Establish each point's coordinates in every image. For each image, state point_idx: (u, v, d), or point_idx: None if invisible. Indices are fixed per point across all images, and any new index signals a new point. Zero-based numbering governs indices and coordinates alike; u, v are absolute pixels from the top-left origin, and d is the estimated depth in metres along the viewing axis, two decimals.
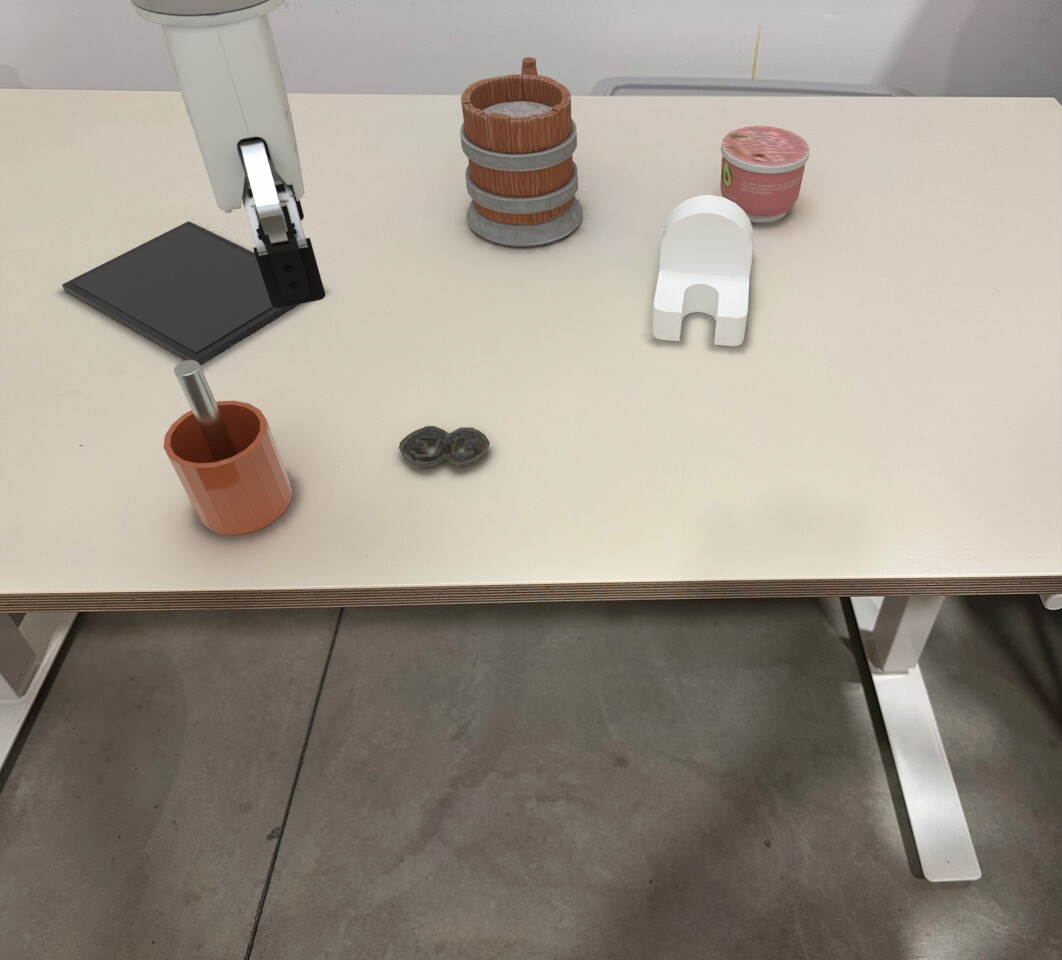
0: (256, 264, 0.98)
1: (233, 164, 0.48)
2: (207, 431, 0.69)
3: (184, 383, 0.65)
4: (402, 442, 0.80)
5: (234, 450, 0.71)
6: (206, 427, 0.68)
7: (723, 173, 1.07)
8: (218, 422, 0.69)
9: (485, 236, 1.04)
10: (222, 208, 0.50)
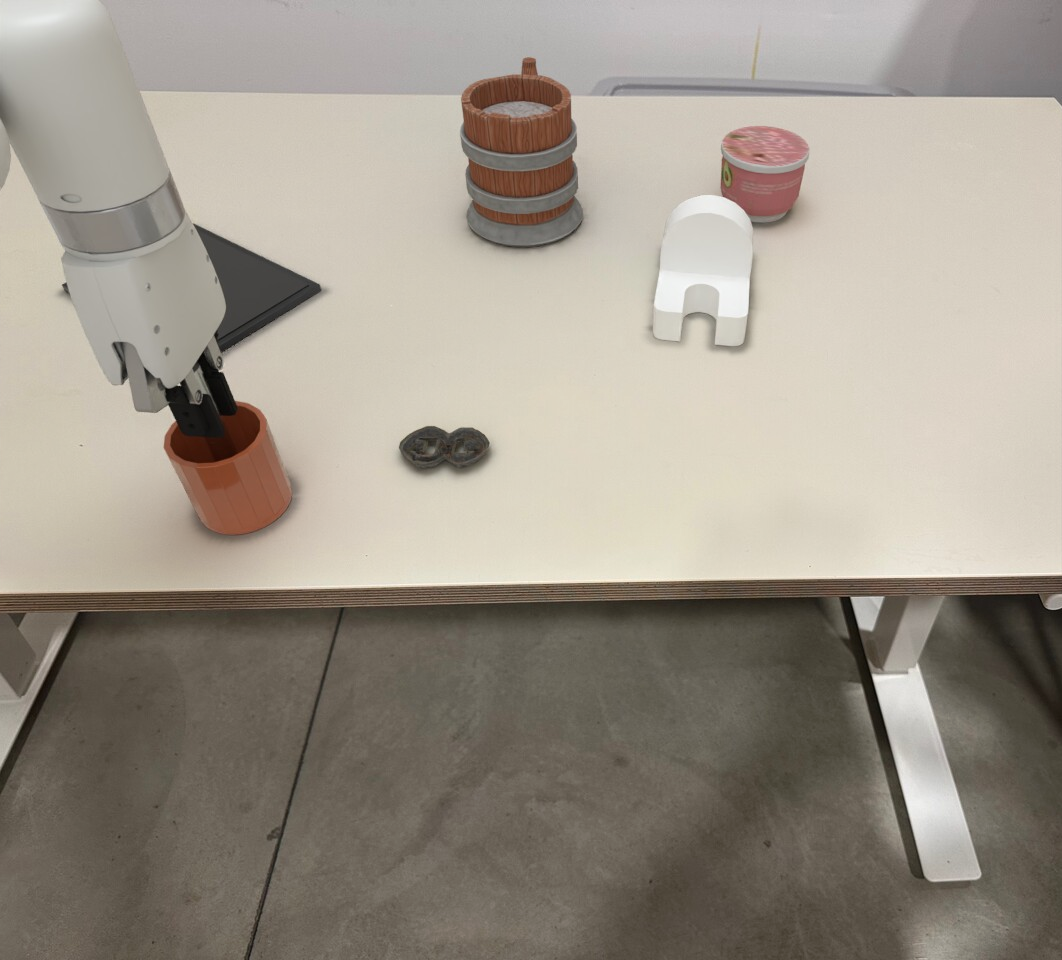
0: (256, 264, 0.98)
1: (110, 356, 0.58)
2: None
3: None
4: (402, 442, 0.80)
5: (234, 450, 0.71)
6: None
7: (723, 173, 1.07)
8: None
9: (485, 236, 1.04)
10: (109, 381, 0.60)
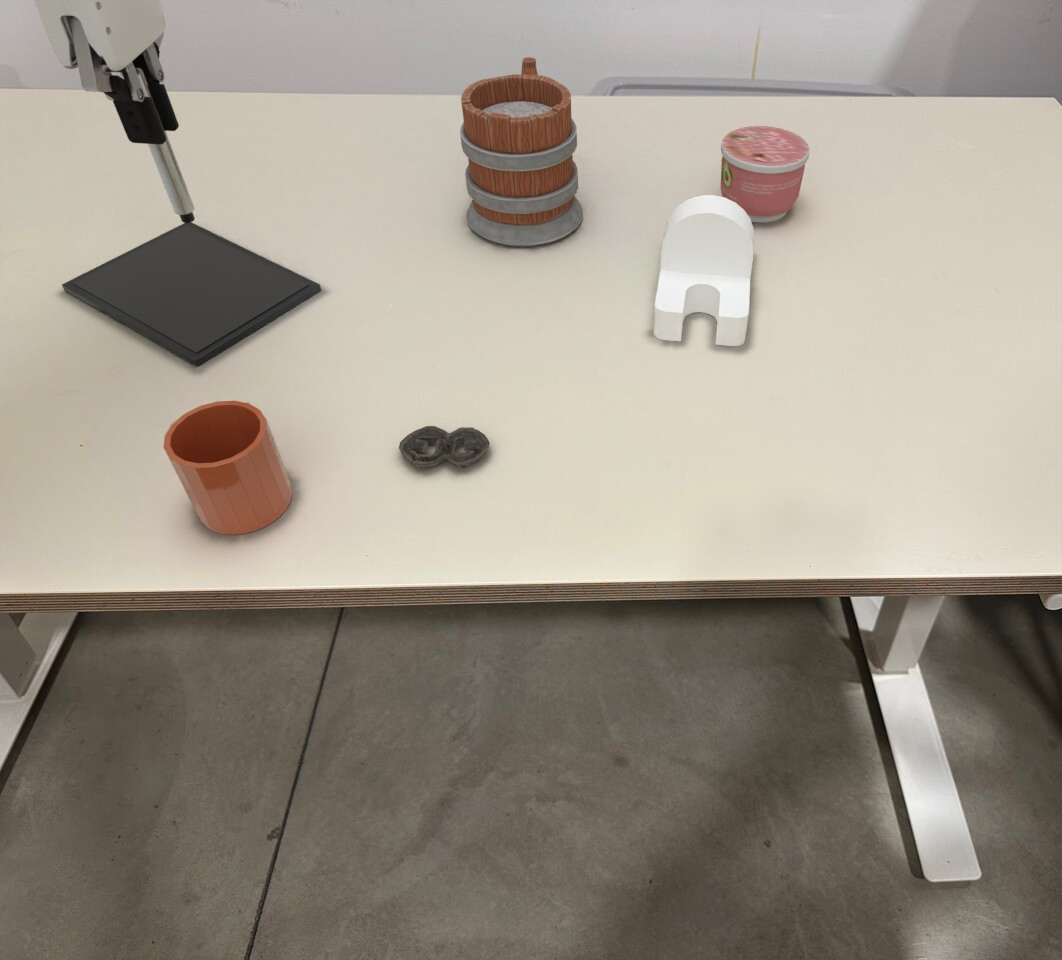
0: (256, 264, 0.98)
1: (59, 32, 0.68)
2: None
3: None
4: (402, 442, 0.80)
5: (177, 166, 0.82)
6: None
7: (723, 173, 1.07)
8: None
9: (485, 236, 1.04)
10: None
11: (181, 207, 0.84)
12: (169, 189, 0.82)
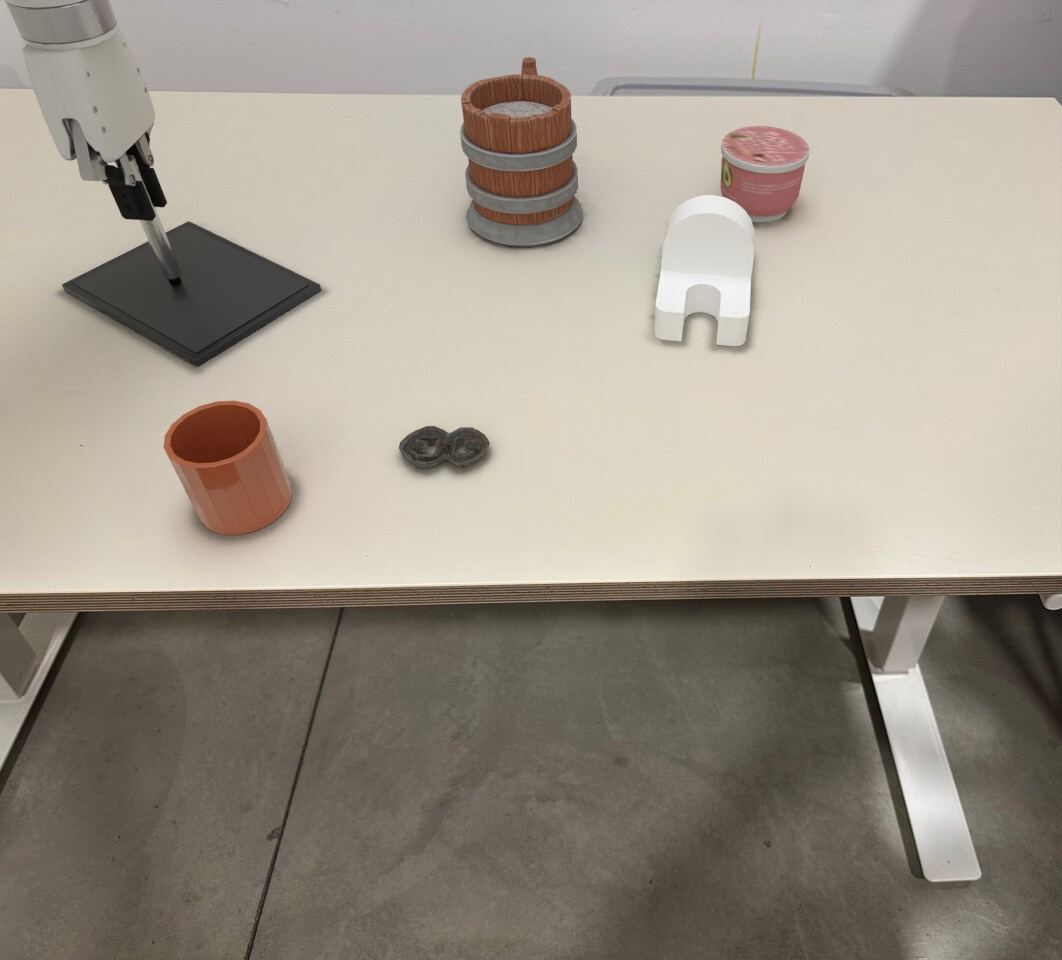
0: (256, 264, 0.98)
1: (61, 132, 0.78)
2: None
3: None
4: (402, 442, 0.80)
5: (165, 238, 0.91)
6: None
7: (723, 173, 1.07)
8: None
9: (485, 236, 1.04)
10: (62, 156, 0.80)
11: (169, 273, 0.93)
12: (159, 258, 0.92)
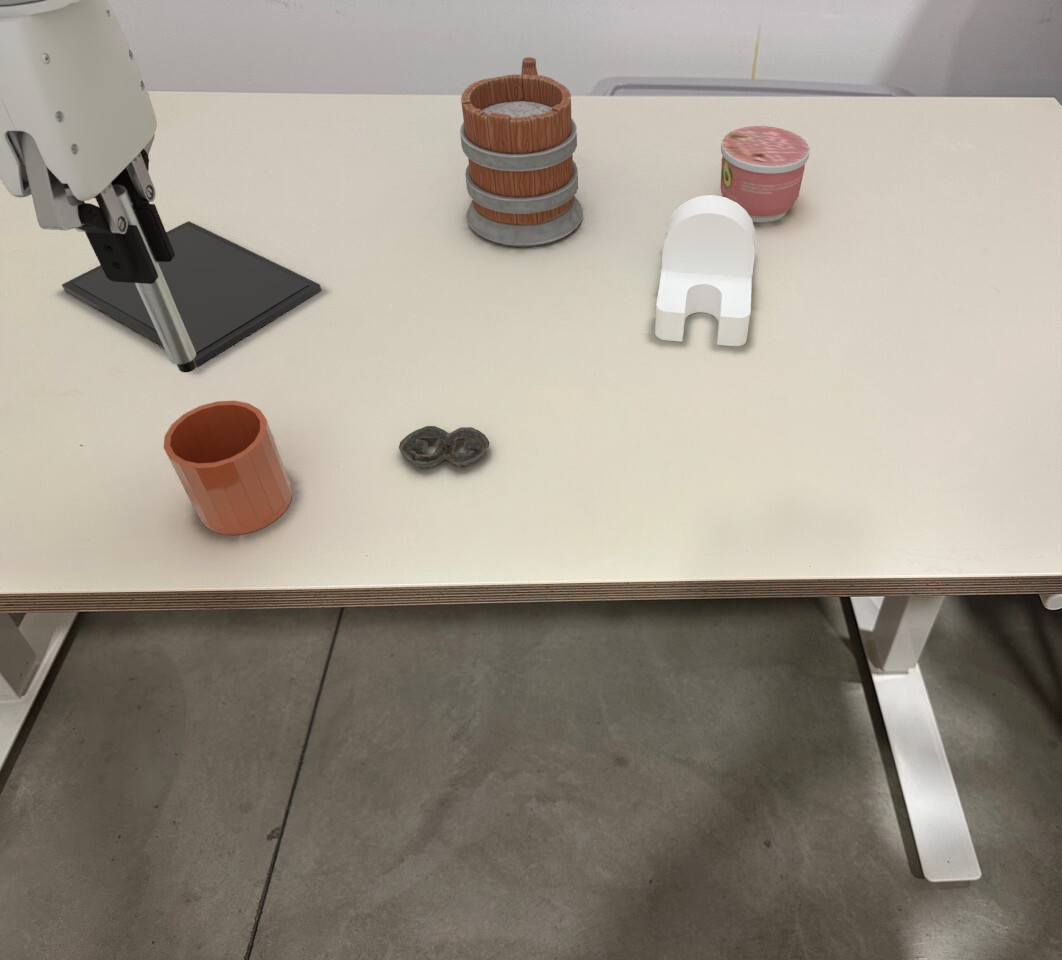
0: (256, 264, 0.98)
1: (5, 153, 0.48)
2: None
3: None
4: (402, 442, 0.80)
5: (173, 306, 0.61)
6: None
7: (723, 173, 1.07)
8: None
9: (485, 236, 1.04)
10: None
11: (178, 355, 0.63)
12: (163, 335, 0.62)
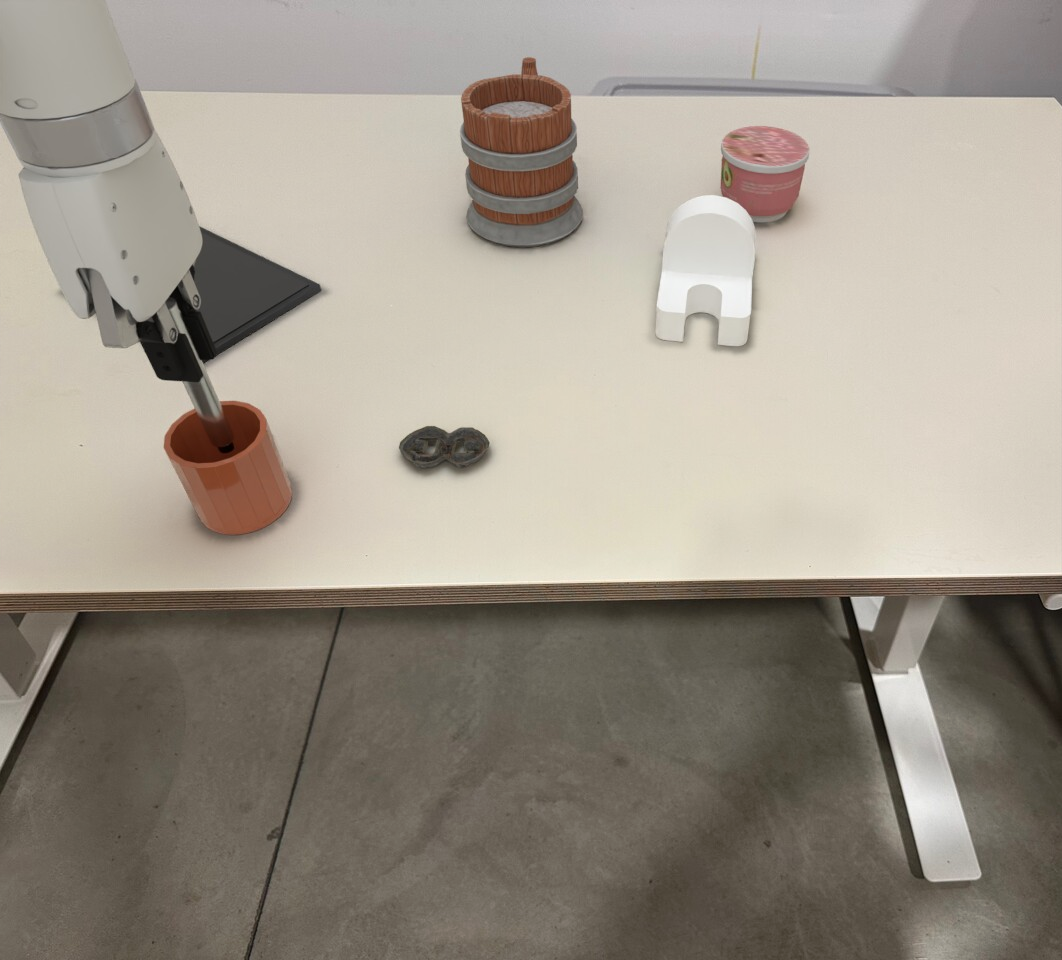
0: (256, 264, 0.98)
1: (75, 285, 0.54)
2: None
3: None
4: (402, 442, 0.80)
5: (215, 397, 0.68)
6: None
7: (723, 173, 1.07)
8: None
9: (485, 236, 1.04)
10: (76, 314, 0.56)
11: (219, 439, 0.70)
12: (206, 422, 0.68)
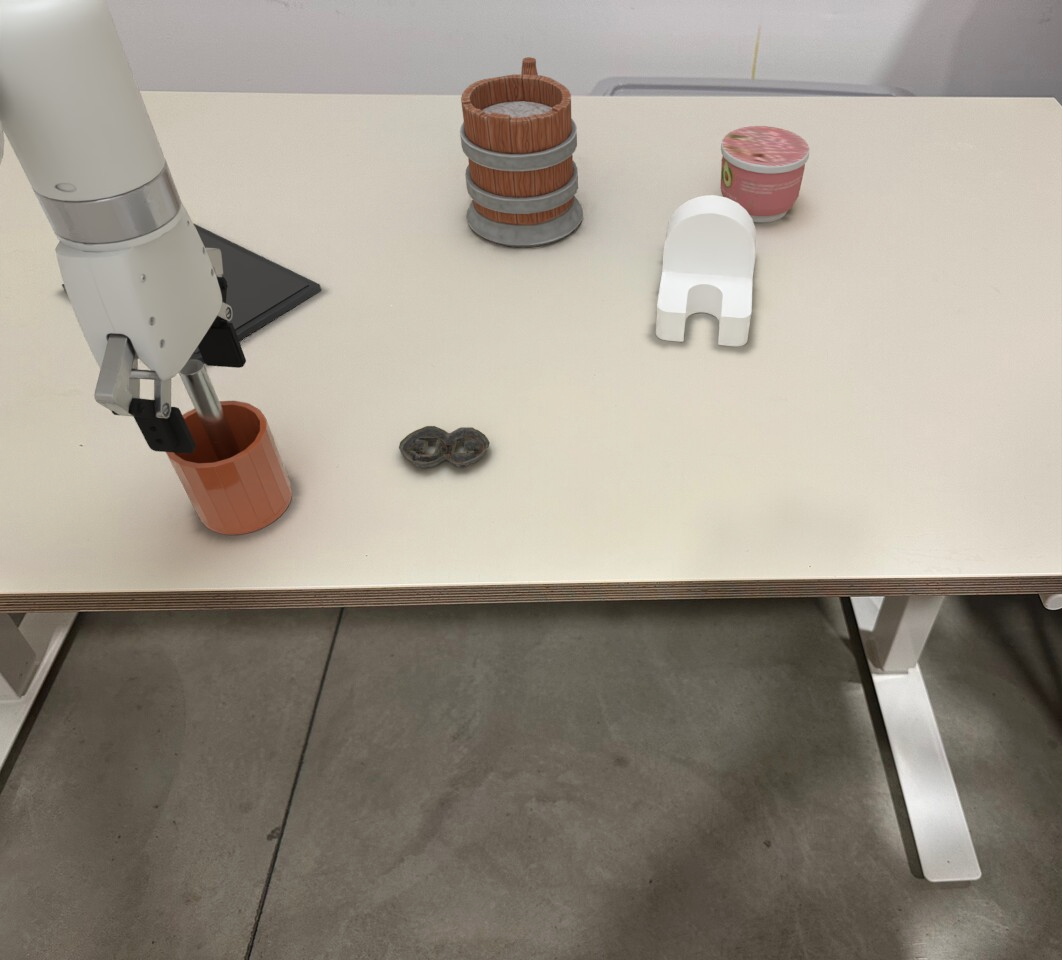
0: (256, 264, 0.98)
1: (105, 348, 0.58)
2: (211, 430, 0.69)
3: (188, 382, 0.65)
4: (402, 442, 0.80)
5: (237, 449, 0.72)
6: (210, 426, 0.68)
7: (723, 173, 1.07)
8: (222, 421, 0.69)
9: (485, 236, 1.04)
10: None
11: None
12: None
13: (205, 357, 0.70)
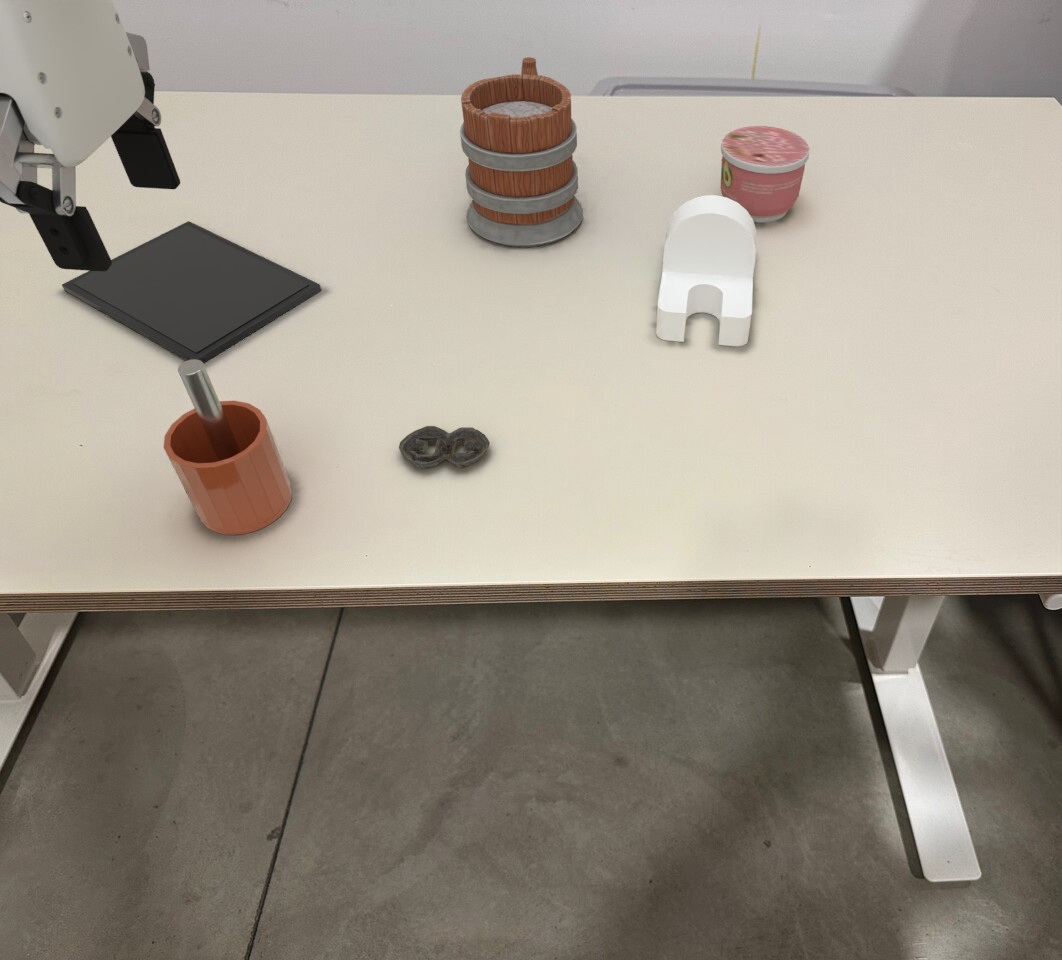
0: (256, 264, 0.98)
1: None
2: (211, 430, 0.69)
3: (188, 382, 0.65)
4: (402, 442, 0.80)
5: (237, 449, 0.72)
6: (210, 426, 0.68)
7: (723, 173, 1.07)
8: (222, 421, 0.69)
9: (485, 236, 1.04)
10: None
11: None
12: None
13: (131, 175, 0.59)
